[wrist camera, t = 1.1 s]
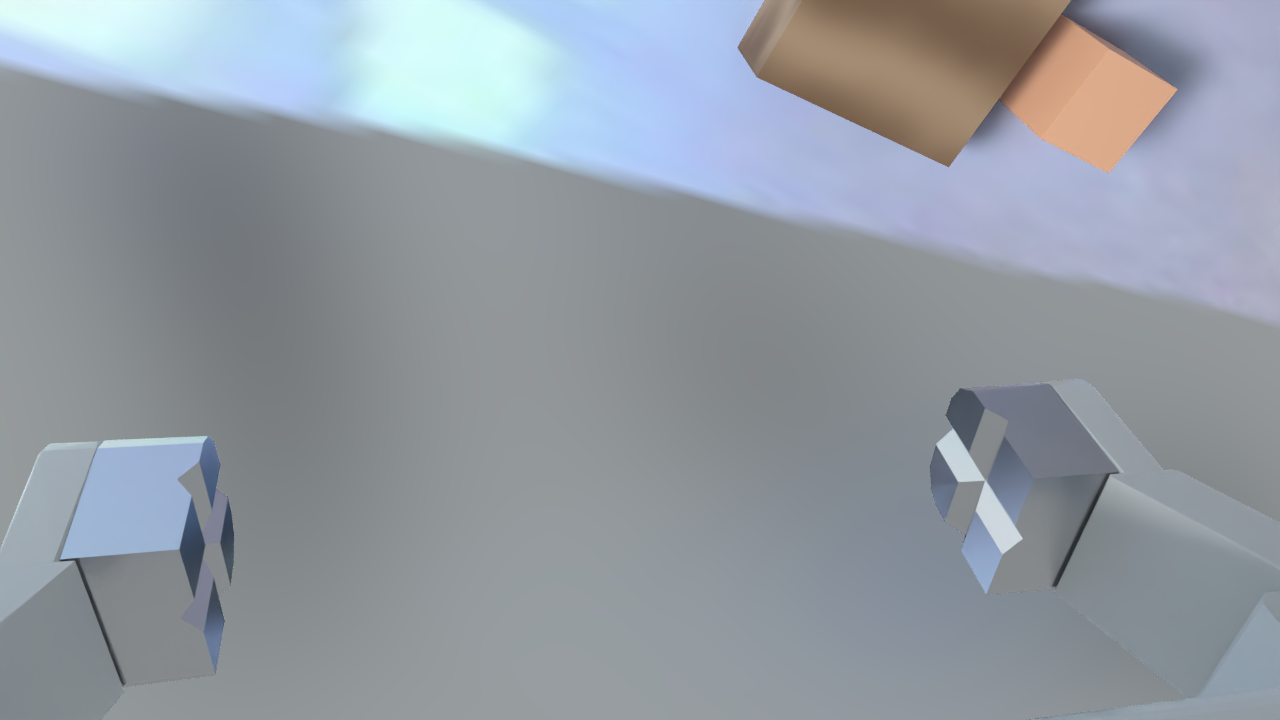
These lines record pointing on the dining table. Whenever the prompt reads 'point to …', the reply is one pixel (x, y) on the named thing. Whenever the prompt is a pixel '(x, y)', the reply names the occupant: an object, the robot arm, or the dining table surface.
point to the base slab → (900, 61)
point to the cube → (1086, 94)
